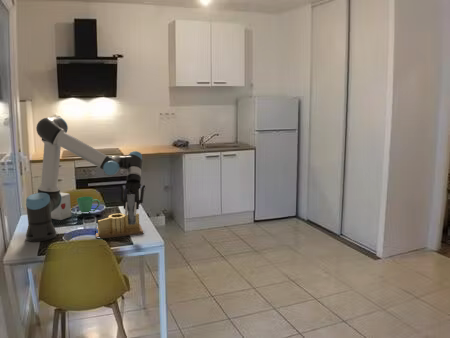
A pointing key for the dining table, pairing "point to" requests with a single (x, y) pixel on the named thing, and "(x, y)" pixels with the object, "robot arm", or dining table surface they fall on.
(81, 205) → the mug
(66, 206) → the supplement box
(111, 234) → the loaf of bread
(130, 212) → the hinge pin
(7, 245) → the dining table surface
